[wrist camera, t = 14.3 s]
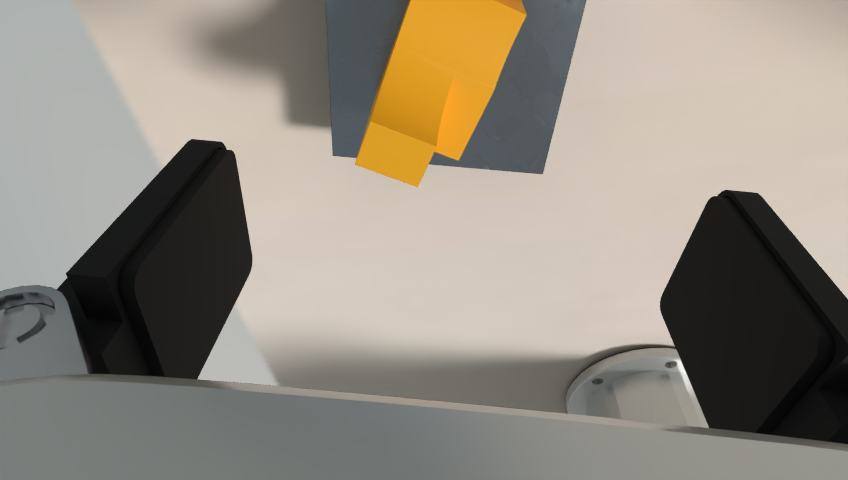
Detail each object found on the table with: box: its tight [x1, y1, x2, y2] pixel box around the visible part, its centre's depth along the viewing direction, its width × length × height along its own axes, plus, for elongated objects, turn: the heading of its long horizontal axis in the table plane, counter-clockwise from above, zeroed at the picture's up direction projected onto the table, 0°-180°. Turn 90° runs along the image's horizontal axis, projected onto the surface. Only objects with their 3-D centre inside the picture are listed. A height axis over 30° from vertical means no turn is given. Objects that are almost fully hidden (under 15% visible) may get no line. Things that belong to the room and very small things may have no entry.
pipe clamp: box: [355, 0, 527, 187], centre depth 19 cm, size 12×4×6 cm, turn 158°
